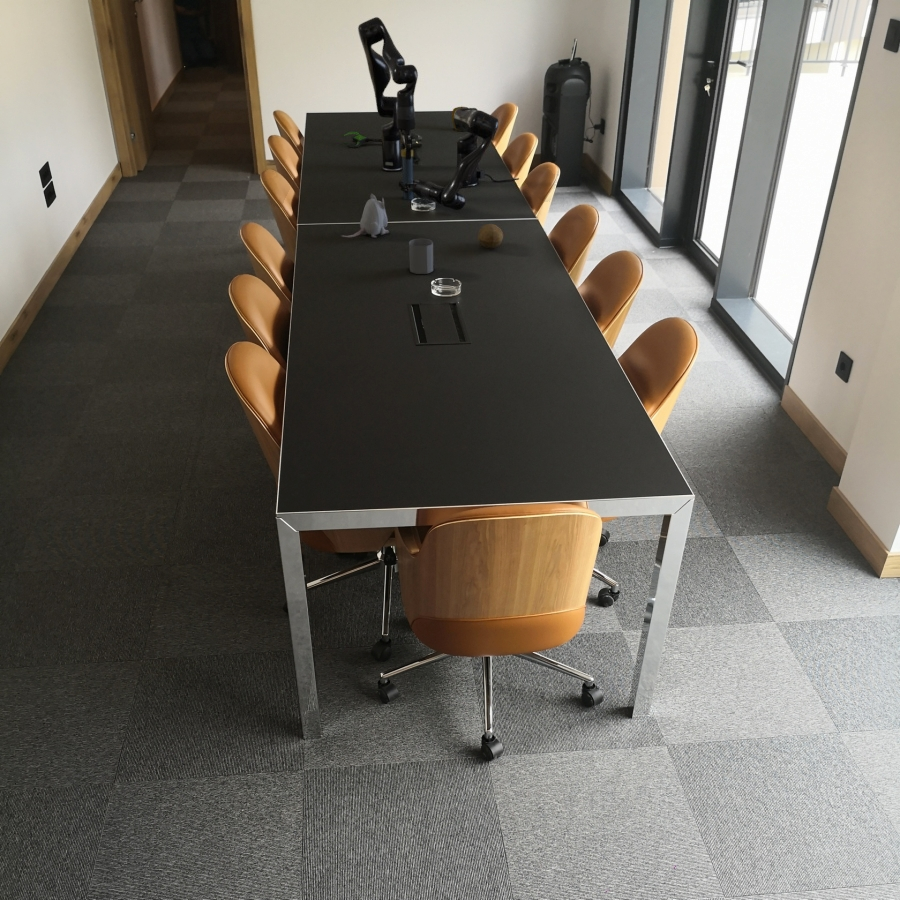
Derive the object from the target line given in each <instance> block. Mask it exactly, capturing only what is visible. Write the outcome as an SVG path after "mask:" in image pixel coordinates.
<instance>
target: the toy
mask: <svg viewBox="0 0 900 900" xmlns="http://www.w3.org/2000/svg"><path fill="white" fill-rule="evenodd" d="M359 227H360V229H359V230H358V231H357V232H355V233H353V234H350V235H341V237H342V238H355V237H357V236H359V235H365V236H366V235H367V234H368V235H371V238H374V239H377V238H378V236H377V235H381V236H382V235H383V236H384V235H387V234H389V233H390V231H389V230H388V229H386V228H387V227H388V215H387V211H386V207H385V200H384V197H382V200H377V197H376V195H375V194H373V193H371V194H370V198H369V199H368V200H367V201H366V202H365V205H364V208H363V212H362V215H361V219H360V221H359Z"/></svg>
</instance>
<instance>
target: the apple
mask: <svg viewBox="0 0 900 900" xmlns="http://www.w3.org/2000/svg"><path fill="white" fill-rule="evenodd" d="M460 108H468V107H467V106H462V105H461V106H457V107H454V108H452V111H451V121H452V125H453V128H454V129H455V131H457V132H463V131H465V130H458V129H457V128H456V127H455V125H454V114H455V111H456V110H457V109H460Z"/></svg>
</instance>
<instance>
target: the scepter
mask: <svg viewBox="0 0 900 900" xmlns="http://www.w3.org/2000/svg"><path fill="white" fill-rule="evenodd" d="M348 135H353V136H351V139H352V140H351V142H352V143H354V144H355V145H354V144H349V143H346V142H342V144H343V145H345V146H346V147H349V148H359V147H360V146H362V145H365V144H368V143H369V142H371V143H382V138H369V137H368V136H365V135H364V134H362V133H360V132H358V131H349V132H347V133H344V134H342V136H343V137H345V136H348Z"/></svg>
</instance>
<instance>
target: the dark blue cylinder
mask: <svg viewBox="0 0 900 900" xmlns="http://www.w3.org/2000/svg"><path fill="white" fill-rule="evenodd" d="M413 160H414V155H413V156H412V157H411V159H410V160H407V159H406V157H403V156H402V167H403V168H402V182H405V183H409V182H410V183H413V180H414V162H413ZM406 186H407V185H406ZM402 196H403V197H402V198H403V200H408V201H411V200H413V199H414V193H413V192H411V191H408V193H405V192H403V191H402Z"/></svg>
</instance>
